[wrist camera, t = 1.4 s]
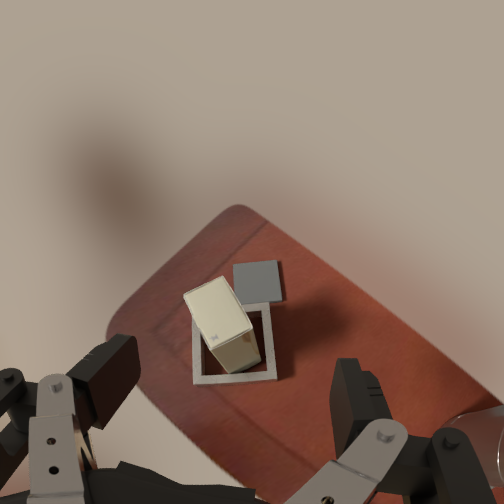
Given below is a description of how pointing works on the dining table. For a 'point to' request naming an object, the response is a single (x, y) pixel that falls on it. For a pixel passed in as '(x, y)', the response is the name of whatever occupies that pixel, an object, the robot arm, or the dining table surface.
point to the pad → (257, 282)
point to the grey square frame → (240, 378)
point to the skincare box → (224, 325)
